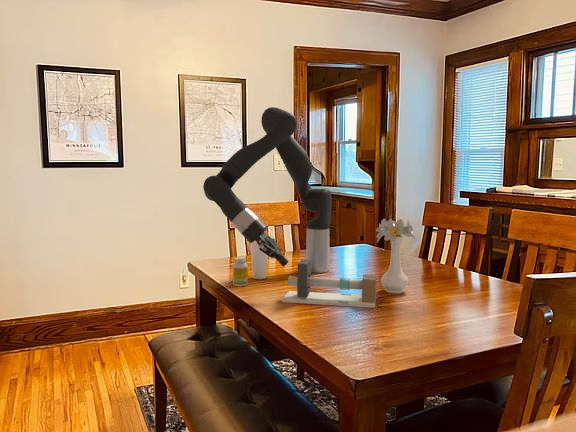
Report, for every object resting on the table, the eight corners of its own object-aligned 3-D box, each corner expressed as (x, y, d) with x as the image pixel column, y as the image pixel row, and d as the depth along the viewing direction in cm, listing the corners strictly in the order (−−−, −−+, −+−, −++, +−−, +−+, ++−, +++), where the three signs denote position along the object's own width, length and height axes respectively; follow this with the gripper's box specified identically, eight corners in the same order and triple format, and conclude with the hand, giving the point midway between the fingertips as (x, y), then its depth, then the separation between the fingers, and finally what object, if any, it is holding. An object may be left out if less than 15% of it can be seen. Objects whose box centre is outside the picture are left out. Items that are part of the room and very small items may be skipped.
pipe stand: (282, 302, 155) (282, 276, 154) (288, 293, 166) (289, 269, 165) (374, 307, 149) (375, 281, 148) (375, 298, 160) (376, 273, 159)
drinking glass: (266, 280, 183) (266, 240, 182) (248, 279, 185) (248, 239, 183) (270, 276, 190) (270, 237, 188) (253, 275, 191) (253, 237, 190)
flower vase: (402, 284, 179) (404, 215, 177) (421, 297, 161) (423, 221, 159) (367, 284, 178) (368, 215, 176) (382, 298, 160) (384, 221, 157)
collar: (297, 296, 155) (297, 263, 154) (301, 290, 163) (301, 259, 162) (306, 297, 155) (307, 264, 154) (310, 290, 162) (310, 259, 161)
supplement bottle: (230, 283, 178) (230, 257, 177) (244, 282, 181) (244, 256, 180) (235, 287, 174) (235, 260, 173) (250, 285, 176) (250, 258, 175)
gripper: (247, 230, 167) (282, 268, 166) (235, 235, 155) (273, 276, 153) (262, 215, 166) (298, 253, 165) (251, 219, 153) (290, 260, 152)
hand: (286, 264), depth 159 cm, fingers closed
